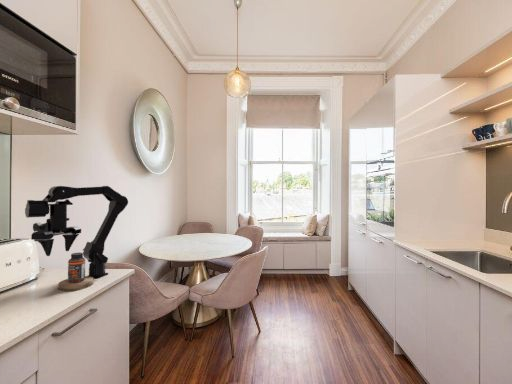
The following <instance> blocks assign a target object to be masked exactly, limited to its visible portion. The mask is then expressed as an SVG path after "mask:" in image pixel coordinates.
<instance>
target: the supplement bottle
mask: <svg viewBox="0 0 512 384" xmlns="http://www.w3.org/2000/svg"><path fill="white" fill-rule="evenodd" d="M70 255H71V256H70V257H71V258H70V259H68V261H67V279H68V282H70V283H75V282H81V281H83V280H84V279H85V276H86V258H85V257H84V256H83V252H73V253H71V254H70Z"/></svg>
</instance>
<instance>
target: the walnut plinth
mask: <svg viewBox="0 0 512 384" xmlns="http://www.w3.org/2000/svg"><path fill="white" fill-rule="evenodd" d="M93 285H94V278H93V277H89V276H88V275H85V279H84V280H83V281H81V282H75V283H70V282H68V278H66V279H64V280H61V281H59V282H58V284H57V287H58V289H57V290H59V291H61V292H72V291H74V292H75V291H79V290H83V289H86V288H89V287H92V286H93Z"/></svg>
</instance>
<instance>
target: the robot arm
mask: <svg viewBox="0 0 512 384" xmlns="http://www.w3.org/2000/svg"><path fill="white" fill-rule="evenodd" d="M96 195H98V196H99V195H102V196H104V197H105V199H106V200H107V201H108V202H109V203H108V211H107V213H106V216H105V218H104V219H103V221H102V223H101V224H100V227H99V229H98V231H97V233H96V235H95V237H94V239H93V240H91V241H87V242H86V244H85V247H84V248H83V249H82V251H83V252H82V253H83V258H85V260H87V262H88V263H89V264H88V265H89V266H88V274H87V276H89V277H93V279H96V278H97V279H99V278H102V277H104V276H106V275H109V272H106V264H107V263H108V260H109V257H107V256H106V255H104V251H105V242H106V240H107V238H108V236H109V234H110V232H111V230H112V228H113V227H114V225H115V223H116V221H117V219H118V216H119V215H120V214H121V213H122V212H124V210H125V209H126V207H127V206H128V204H129V200H128V198H127V197H126V195H122V194H121V193H119V192H117V191H116V190H114V189H113V188H112V187H111V186H109V185H102V186H91V187H90V186H87V187H86V186H85V187H74V186H67V185H65V186H64V185H56V186H51V188H49V189H48V194H47V195H46V196H45V197H44V198H43V199H42V200H33V199H28V200H26V204H25V209H24V214H25V217H26V218H43V217H44V218H45V217H46V216H47V215H49V218H46V222H44V223H41V222H34V223H33V224H32V230H33V232H32V233H31V234H30V235H31V240H32V241H35V242H38V243H39V244H40V245H41V247H42V248H43V251H44V253H45V256H46V257H50V256H51V253H52V249H53V244H54V241H55V239H54V236H60V235H61V236H62V237H63V238H64V249H65V252H69V251H70V249H71V247H72V246H73V244H74V242H75V240H76V239H77V238H78V237H79V236H80V234H81V233H82V228H81V227H80V226H68V221H70V217H68V206H72V205H73V204H74V203H73V202H71V201H70V200H69V199H70V198H71V199H72V198H76V197H80V196H83V197H84V196H96Z"/></svg>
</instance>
